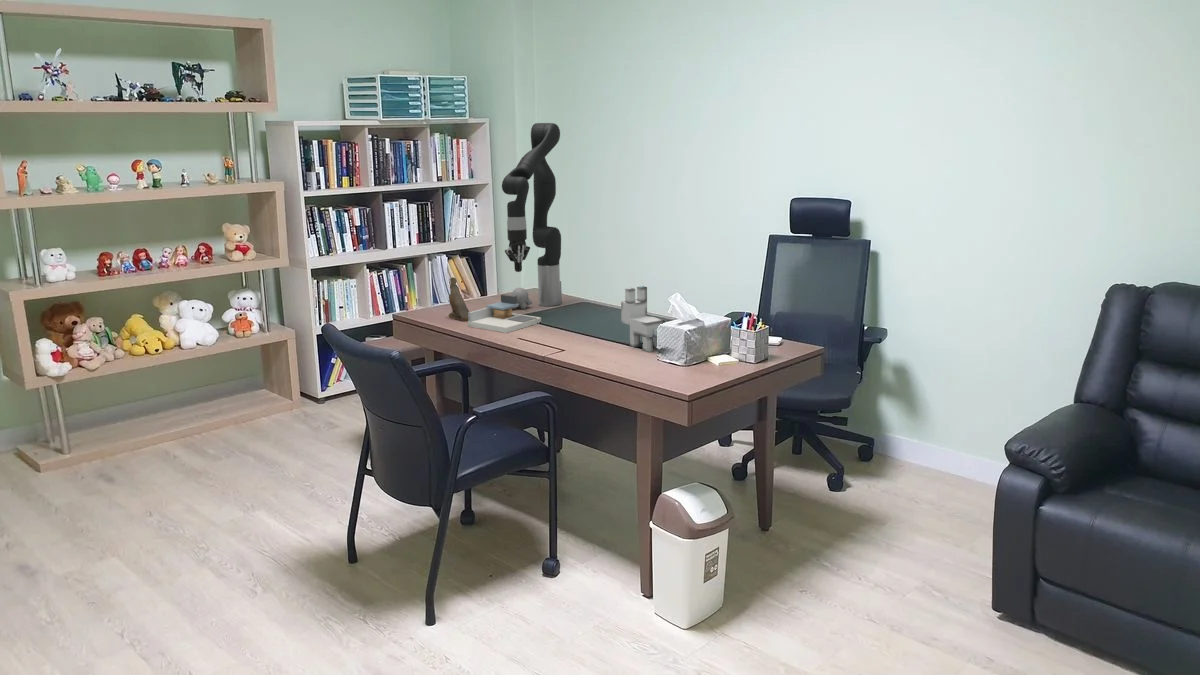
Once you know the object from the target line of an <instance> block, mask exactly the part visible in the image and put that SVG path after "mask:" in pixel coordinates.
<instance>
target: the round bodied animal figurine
mask: <svg viewBox="0 0 1200 675" xmlns="http://www.w3.org/2000/svg"><path fill="white" fill-rule="evenodd" d="M510 295H512V296H517V304H519V306H516V308H517V309H521V310H524V309H526V308H527V306H531V305H532V304H533V300H532V299H531V298H529V292H528V290H527V289H525V288H523V287H517V288H515V289H513V290H512V291H511V294H510Z"/></svg>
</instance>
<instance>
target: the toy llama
mask: <svg viewBox="0 0 1200 675" xmlns="http://www.w3.org/2000/svg"><path fill="white" fill-rule="evenodd" d="M624 290H625V291H624V293H625V294H624V295H625V296H624V299H625V300H622V301H620V302H621V303H620V305H621V307H620V308H621V309H620V312H621V313H620V314H621V318H620V319H621V320H620V321H621V322H620V323H621V324H624V325H628V326H629V347H632V348H638V347H637V346H640V347H641V344H642V343H643V344H642V351H643V352H646V353H649V352H653V351H654V349H656V346H657V328H658V326H659V325H660V324H663V323H665V324H666V322H665V319H661V318H658V317H654V316H652V315H648V287H647V286H644V285H641V286H636V288H633V287H626V288H625V289H624ZM640 337H641V338H640ZM656 350H657V349H656Z"/></svg>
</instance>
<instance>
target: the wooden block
mask: <svg viewBox="0 0 1200 675" xmlns="http://www.w3.org/2000/svg"><path fill="white" fill-rule="evenodd" d="M512 313H513V308H509V309H505V310H500V309H494V317H496V318H502V319H505V318H508V317H512Z"/></svg>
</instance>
